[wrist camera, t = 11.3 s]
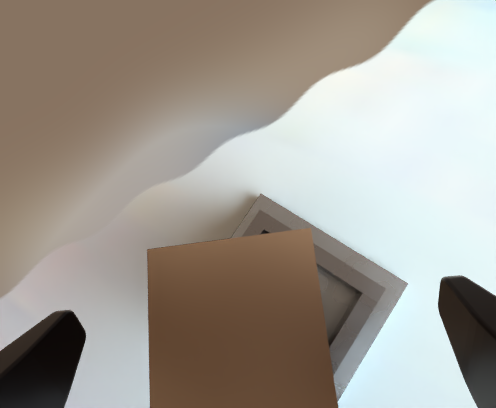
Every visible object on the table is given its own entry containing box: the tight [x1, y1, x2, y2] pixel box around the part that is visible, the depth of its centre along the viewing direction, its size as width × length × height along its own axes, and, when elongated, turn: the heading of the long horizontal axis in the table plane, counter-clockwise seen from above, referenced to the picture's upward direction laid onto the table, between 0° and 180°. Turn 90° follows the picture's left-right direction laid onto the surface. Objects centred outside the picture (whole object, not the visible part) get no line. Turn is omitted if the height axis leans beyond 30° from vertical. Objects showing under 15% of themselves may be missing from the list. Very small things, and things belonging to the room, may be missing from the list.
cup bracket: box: [231, 194, 408, 402], centre depth 19 cm, size 10×10×4 cm
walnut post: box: [147, 228, 338, 408], centre depth 14 cm, size 4×4×13 cm
